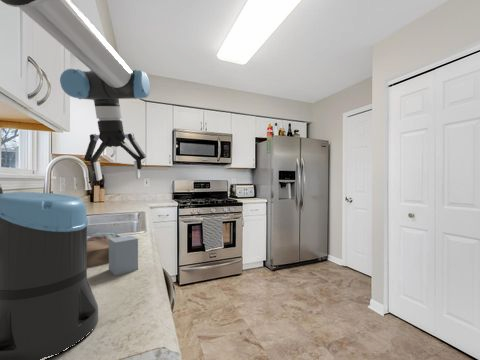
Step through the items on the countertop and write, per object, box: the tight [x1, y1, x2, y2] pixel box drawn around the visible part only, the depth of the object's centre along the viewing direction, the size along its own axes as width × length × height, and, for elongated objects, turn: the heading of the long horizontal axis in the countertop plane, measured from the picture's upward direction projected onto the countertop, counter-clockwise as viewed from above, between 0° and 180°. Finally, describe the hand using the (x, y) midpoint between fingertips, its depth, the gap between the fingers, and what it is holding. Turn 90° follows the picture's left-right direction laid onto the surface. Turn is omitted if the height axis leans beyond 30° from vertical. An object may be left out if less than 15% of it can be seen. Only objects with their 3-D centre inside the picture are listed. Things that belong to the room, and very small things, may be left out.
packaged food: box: [87, 231, 121, 242], centre depth 93 cm, size 9×12×5 cm
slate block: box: [108, 234, 139, 276], centre depth 66 cm, size 6×6×9 cm
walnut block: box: [87, 235, 123, 268], centre depth 78 cm, size 14×14×5 cm
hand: (119, 178), depth 84 cm, fingers open, 13 cm apart
